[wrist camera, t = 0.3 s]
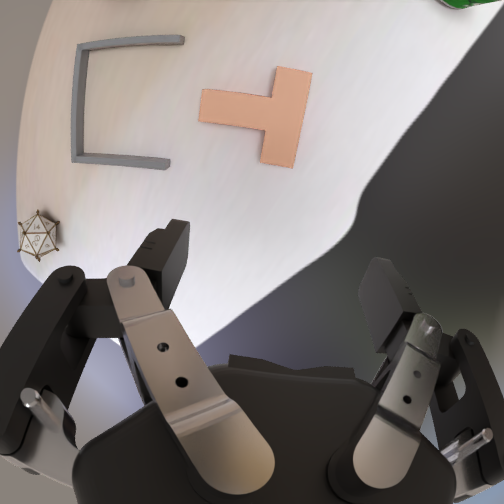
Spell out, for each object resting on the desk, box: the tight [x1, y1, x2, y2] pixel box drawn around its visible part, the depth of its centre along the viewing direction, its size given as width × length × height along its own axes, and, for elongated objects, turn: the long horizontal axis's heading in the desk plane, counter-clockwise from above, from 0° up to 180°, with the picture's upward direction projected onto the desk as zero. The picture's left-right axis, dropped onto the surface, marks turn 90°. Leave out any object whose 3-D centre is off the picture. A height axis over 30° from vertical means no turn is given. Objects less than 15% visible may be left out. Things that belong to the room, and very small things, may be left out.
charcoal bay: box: [71, 35, 185, 170], centre depth 32 cm, size 18×16×2 cm
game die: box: [17, 210, 60, 262], centre depth 40 cm, size 9×8×10 cm
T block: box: [198, 66, 312, 168], centre depth 32 cm, size 12×12×3 cm
